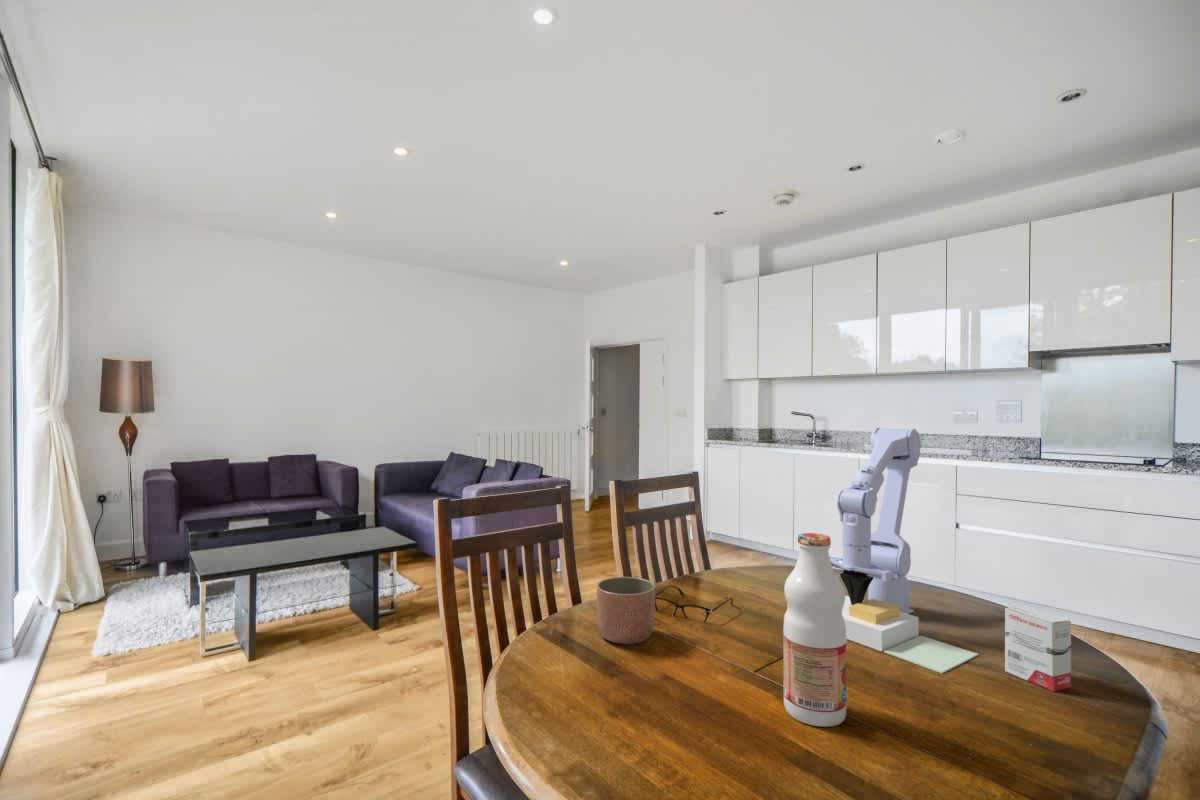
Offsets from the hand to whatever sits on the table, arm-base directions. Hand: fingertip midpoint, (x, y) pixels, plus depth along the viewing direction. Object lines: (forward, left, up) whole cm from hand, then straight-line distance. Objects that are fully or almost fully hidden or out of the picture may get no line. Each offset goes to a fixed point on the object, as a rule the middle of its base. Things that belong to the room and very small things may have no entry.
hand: (856, 606), depth 127 cm
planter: (+45, -24, -5) cm, 51 cm away
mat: (0, +16, -5) cm, 16 cm away
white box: (0, -1, -5) cm, 5 cm away
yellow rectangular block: (0, +4, -1) cm, 4 cm away
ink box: (-5, +32, -5) cm, 33 cm away
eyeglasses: (+21, -29, -6) cm, 36 cm away
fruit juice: (+38, +17, -5) cm, 42 cm away
